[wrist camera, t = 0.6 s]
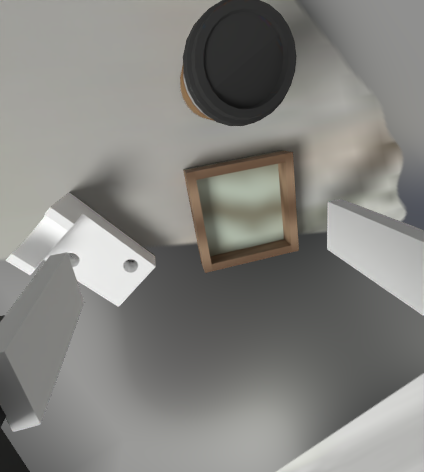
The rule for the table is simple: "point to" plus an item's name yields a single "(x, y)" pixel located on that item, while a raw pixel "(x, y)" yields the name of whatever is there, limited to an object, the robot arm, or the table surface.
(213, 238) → the cup dock
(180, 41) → the table surface
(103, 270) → the bracket
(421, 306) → the robot arm
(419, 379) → the table surface
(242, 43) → the coffee cup
